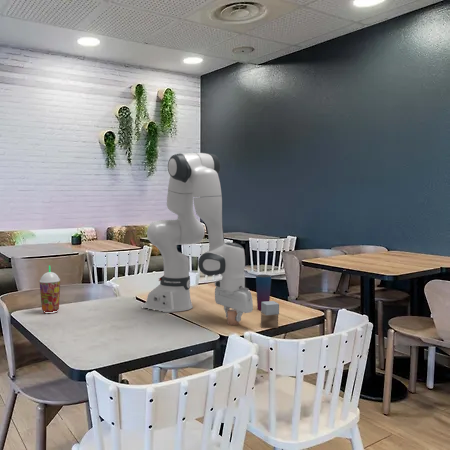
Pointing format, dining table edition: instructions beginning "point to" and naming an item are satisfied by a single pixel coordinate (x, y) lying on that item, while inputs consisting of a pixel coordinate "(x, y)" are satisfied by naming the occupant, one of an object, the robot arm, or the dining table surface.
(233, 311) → the orange brown block
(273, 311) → the tower top block
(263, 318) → the tower base
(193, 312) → the dining table surface
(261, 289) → the cup
